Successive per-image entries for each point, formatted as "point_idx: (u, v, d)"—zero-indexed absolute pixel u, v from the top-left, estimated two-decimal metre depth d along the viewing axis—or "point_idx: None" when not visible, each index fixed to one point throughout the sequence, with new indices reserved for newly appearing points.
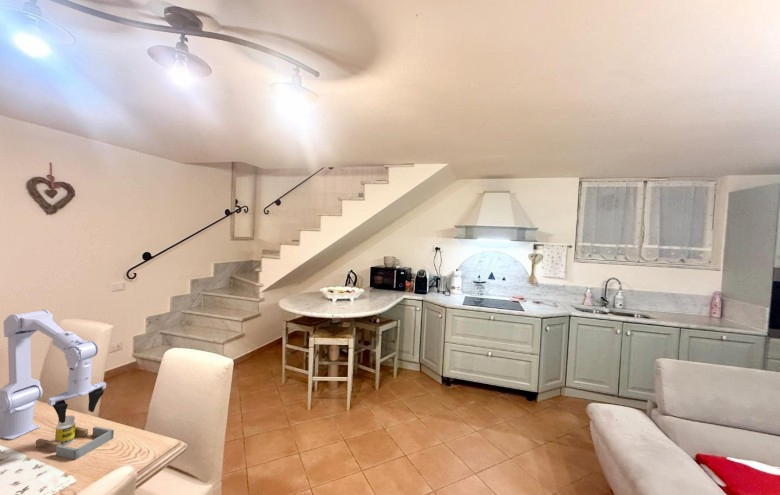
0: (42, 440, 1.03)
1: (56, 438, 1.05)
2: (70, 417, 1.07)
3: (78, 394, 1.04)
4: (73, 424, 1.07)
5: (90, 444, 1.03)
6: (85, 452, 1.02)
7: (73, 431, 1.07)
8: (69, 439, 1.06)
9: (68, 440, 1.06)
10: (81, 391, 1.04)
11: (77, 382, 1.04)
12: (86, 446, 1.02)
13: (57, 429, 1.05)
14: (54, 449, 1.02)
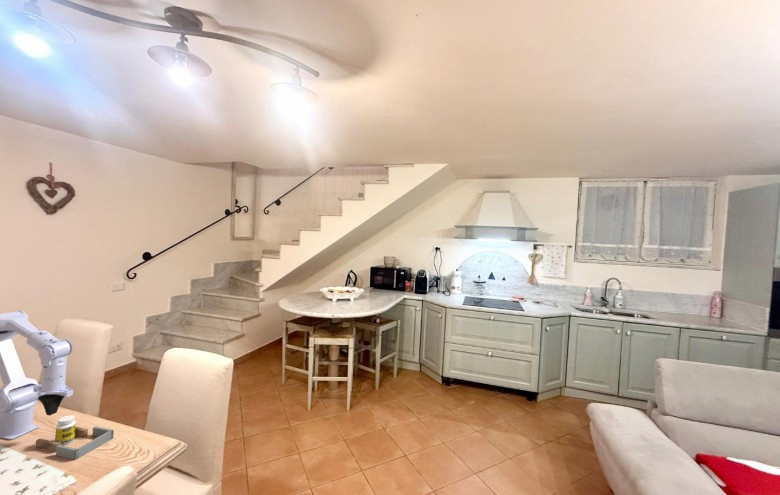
0: (42, 440, 1.03)
1: (56, 438, 1.05)
2: (70, 417, 1.07)
3: None
4: (73, 424, 1.07)
5: (90, 444, 1.03)
6: (85, 452, 1.02)
7: (73, 431, 1.07)
8: (69, 439, 1.06)
9: (68, 440, 1.06)
10: (42, 390, 1.05)
11: None
12: (86, 446, 1.02)
13: (57, 429, 1.05)
14: (54, 449, 1.02)
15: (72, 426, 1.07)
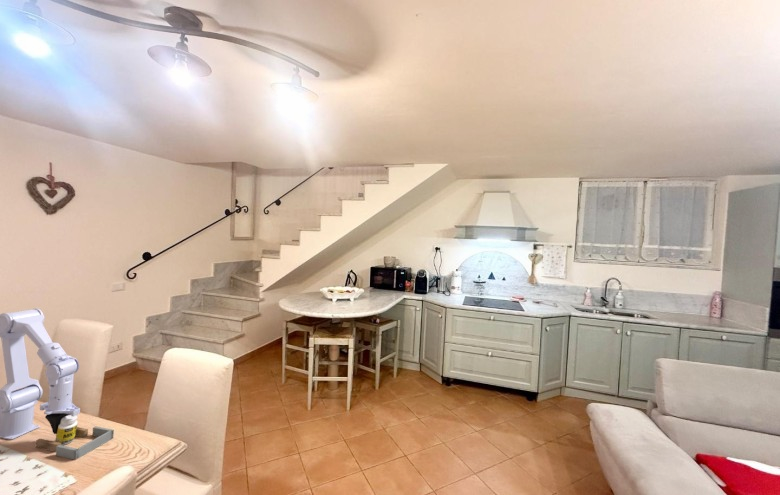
0: (42, 440, 1.03)
1: (57, 437, 1.04)
2: (73, 417, 1.07)
3: (47, 410, 1.05)
4: (75, 424, 1.07)
5: (90, 444, 1.03)
6: (85, 452, 1.02)
7: (74, 431, 1.07)
8: (70, 439, 1.06)
9: (69, 440, 1.06)
10: (49, 409, 1.05)
11: None
12: (86, 446, 1.02)
13: (59, 429, 1.04)
14: (54, 449, 1.02)
15: (74, 427, 1.07)
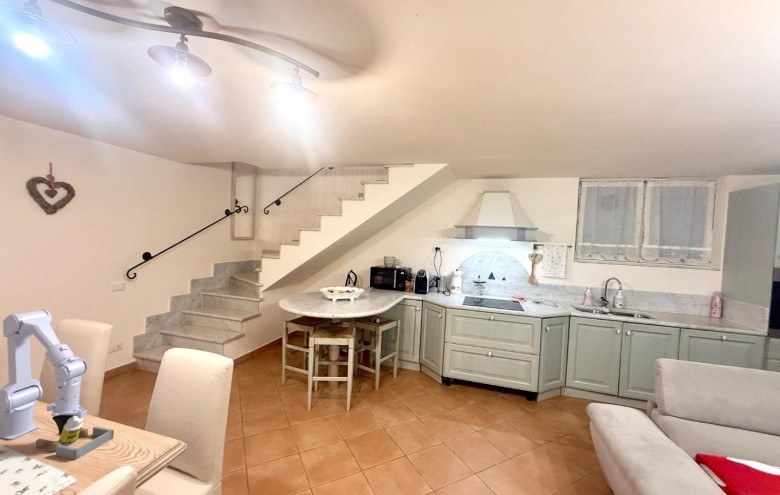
0: (42, 440, 1.03)
1: (61, 437, 1.04)
2: (79, 419, 1.07)
3: (54, 412, 1.04)
4: (80, 426, 1.07)
5: (90, 444, 1.03)
6: (85, 452, 1.02)
7: (78, 433, 1.07)
8: (73, 440, 1.06)
9: (72, 441, 1.06)
10: (56, 410, 1.04)
11: (56, 399, 1.05)
12: (86, 446, 1.02)
13: (64, 429, 1.04)
14: (54, 449, 1.02)
15: (79, 429, 1.06)
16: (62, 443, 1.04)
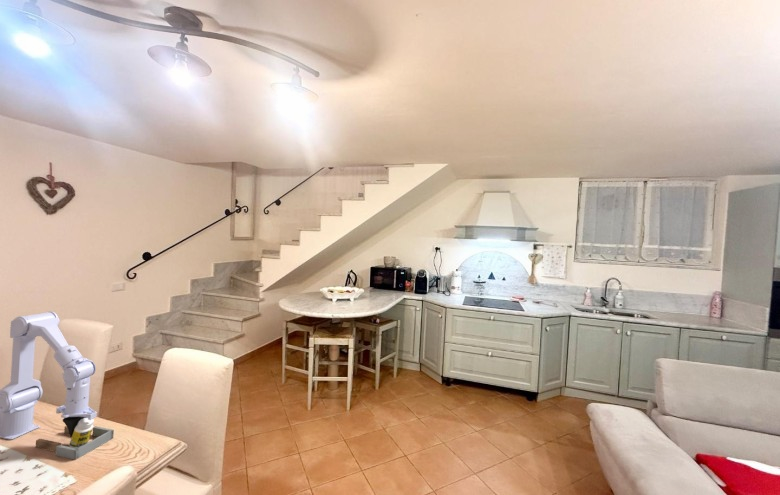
0: (42, 440, 1.03)
1: (72, 440, 1.03)
2: (90, 421, 1.06)
3: (64, 414, 1.04)
4: (91, 428, 1.06)
5: (90, 444, 1.03)
6: (85, 452, 1.02)
7: (89, 435, 1.06)
8: (84, 442, 1.05)
9: (83, 443, 1.05)
10: (66, 412, 1.03)
11: None
12: (86, 446, 1.02)
13: (75, 431, 1.03)
14: (54, 449, 1.02)
15: (89, 430, 1.06)
16: (73, 445, 1.03)
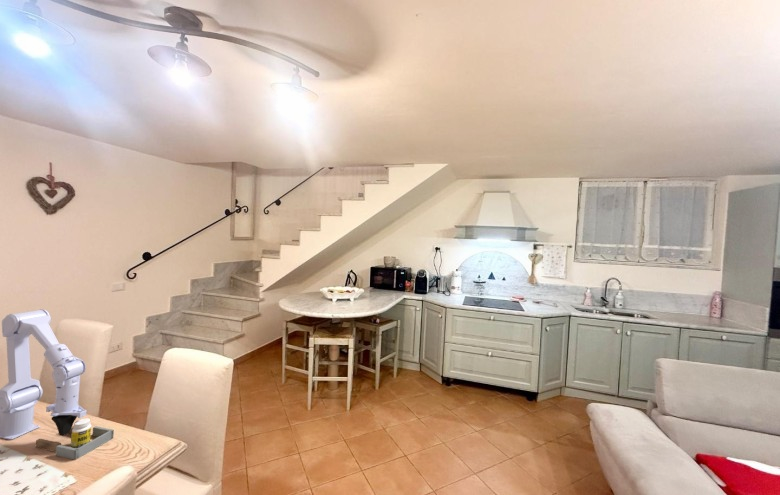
0: (42, 440, 1.03)
1: (72, 441, 1.03)
2: (86, 420, 1.06)
3: (53, 412, 1.04)
4: (88, 427, 1.06)
5: (90, 444, 1.03)
6: (85, 452, 1.02)
7: (88, 434, 1.06)
8: (84, 442, 1.05)
9: (84, 443, 1.05)
10: (55, 410, 1.04)
11: (55, 399, 1.05)
12: (86, 446, 1.02)
13: (73, 432, 1.03)
14: (54, 449, 1.02)
15: (87, 429, 1.06)
16: (74, 447, 1.03)
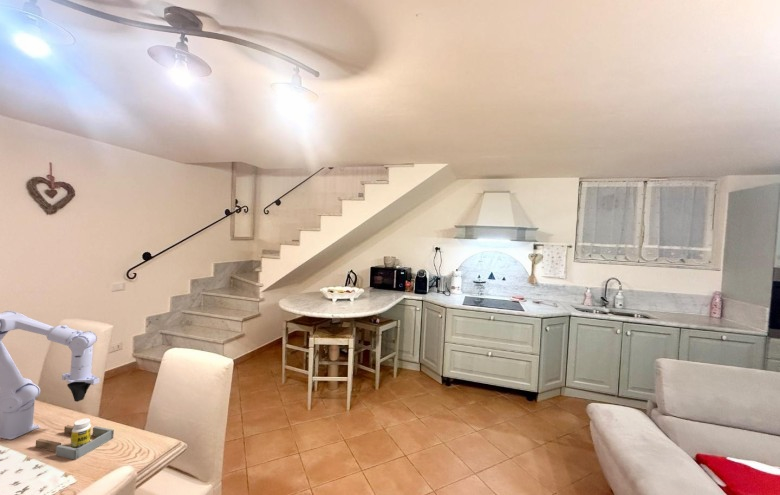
0: (42, 440, 1.03)
1: (72, 441, 1.03)
2: (85, 420, 1.06)
3: (69, 379, 1.13)
4: (88, 427, 1.06)
5: (90, 444, 1.03)
6: (85, 452, 1.02)
7: (88, 435, 1.06)
8: (84, 442, 1.05)
9: (84, 443, 1.05)
10: (71, 377, 1.13)
11: None
12: (86, 446, 1.02)
13: (73, 432, 1.03)
14: (54, 449, 1.02)
15: (87, 430, 1.06)
16: (74, 447, 1.03)
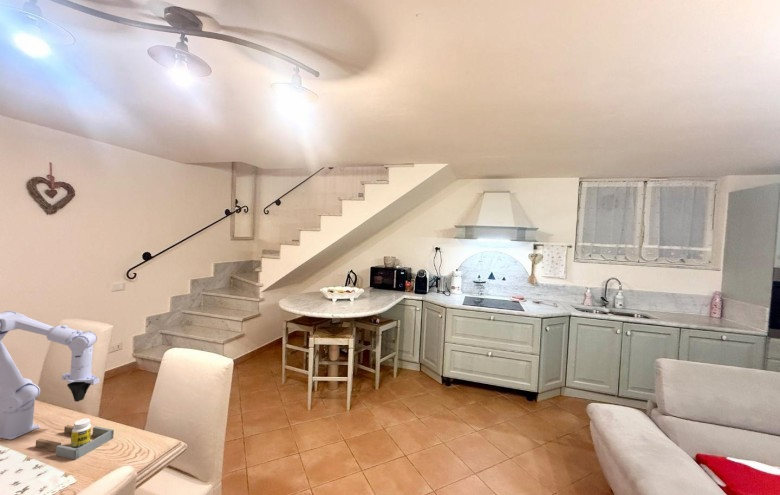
0: (42, 440, 1.03)
1: (72, 441, 1.03)
2: (86, 420, 1.06)
3: (69, 379, 1.13)
4: (88, 427, 1.06)
5: (90, 444, 1.03)
6: (85, 452, 1.02)
7: (88, 435, 1.06)
8: (84, 442, 1.05)
9: (84, 443, 1.05)
10: (71, 377, 1.13)
11: None
12: (86, 446, 1.02)
13: (73, 432, 1.03)
14: (54, 449, 1.02)
15: (87, 429, 1.06)
16: (74, 447, 1.03)
